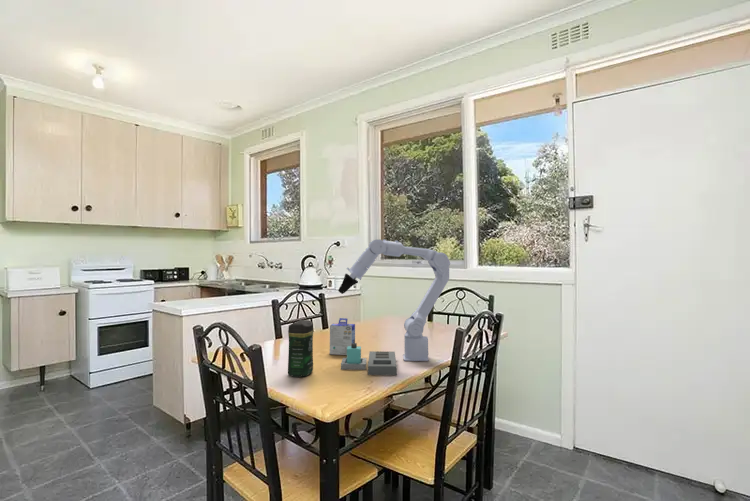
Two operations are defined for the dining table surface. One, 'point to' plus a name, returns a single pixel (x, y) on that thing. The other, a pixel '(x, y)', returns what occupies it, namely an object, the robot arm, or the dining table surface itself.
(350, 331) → the ink cartridge box
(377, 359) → the switch box
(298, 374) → the coffee jar
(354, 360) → the plug
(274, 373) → the dining table surface
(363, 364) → the grey rectangular frame
